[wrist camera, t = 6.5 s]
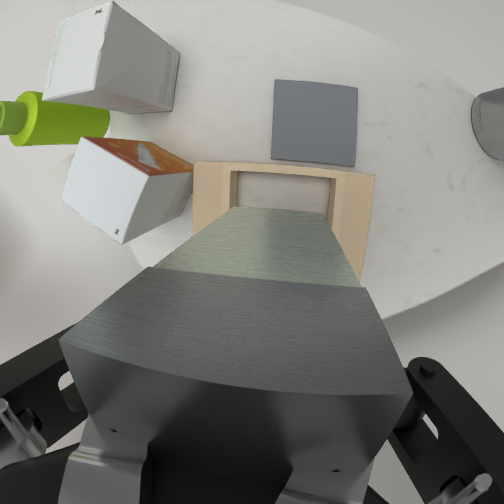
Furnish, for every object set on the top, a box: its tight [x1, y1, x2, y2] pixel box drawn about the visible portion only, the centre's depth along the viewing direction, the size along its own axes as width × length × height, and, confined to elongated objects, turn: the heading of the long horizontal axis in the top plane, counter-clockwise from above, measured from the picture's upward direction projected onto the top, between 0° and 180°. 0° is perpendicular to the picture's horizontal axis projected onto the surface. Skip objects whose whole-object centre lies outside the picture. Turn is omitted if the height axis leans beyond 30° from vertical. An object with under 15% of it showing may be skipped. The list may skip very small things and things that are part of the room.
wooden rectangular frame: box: [193, 162, 375, 283], centre depth 30 cm, size 18×12×4 cm, turn 87°
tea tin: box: [58, 206, 413, 484], centre depth 10 cm, size 5×7×12 cm, turn 177°
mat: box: [271, 80, 358, 167], centre depth 28 cm, size 9×9×1 cm
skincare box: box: [42, 1, 180, 114], centre depth 21 cm, size 8×7×16 cm
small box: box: [60, 136, 194, 245], centre depth 26 cm, size 8×6×13 cm
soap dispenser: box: [0, 91, 109, 146], centre depth 22 cm, size 6×7×20 cm
